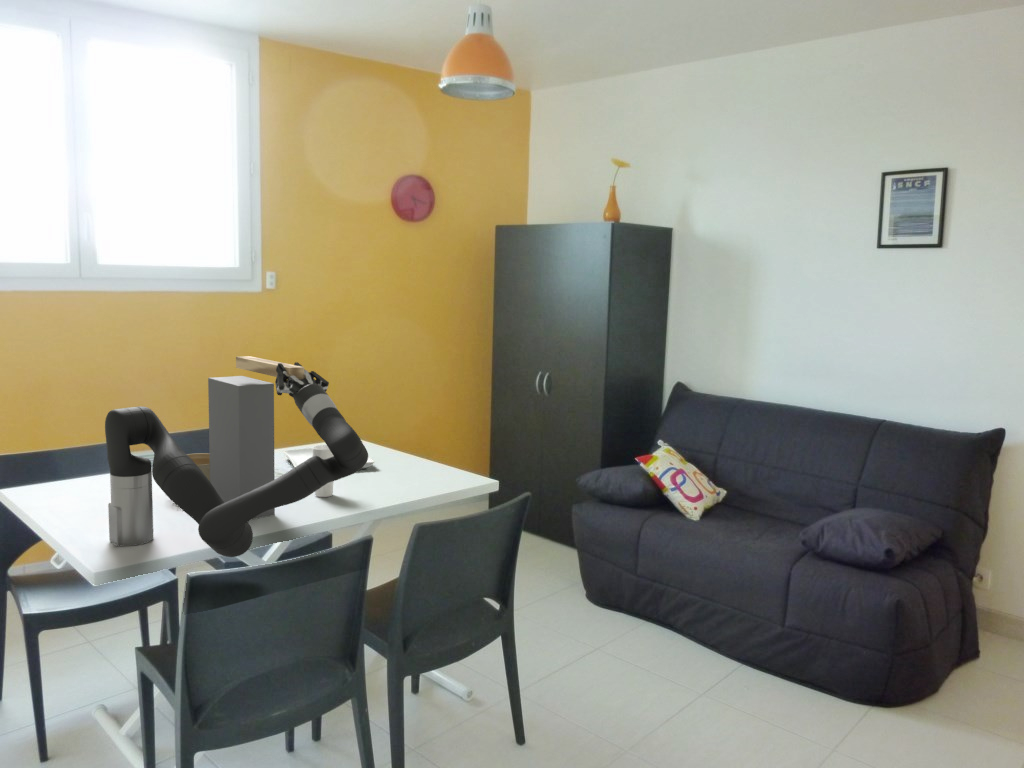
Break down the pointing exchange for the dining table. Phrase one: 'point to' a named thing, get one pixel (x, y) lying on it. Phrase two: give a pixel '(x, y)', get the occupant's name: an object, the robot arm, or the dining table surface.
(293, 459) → the square plate
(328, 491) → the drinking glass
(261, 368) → the block
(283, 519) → the dining table surface
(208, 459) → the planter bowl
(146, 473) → the robot arm
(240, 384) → the stand
